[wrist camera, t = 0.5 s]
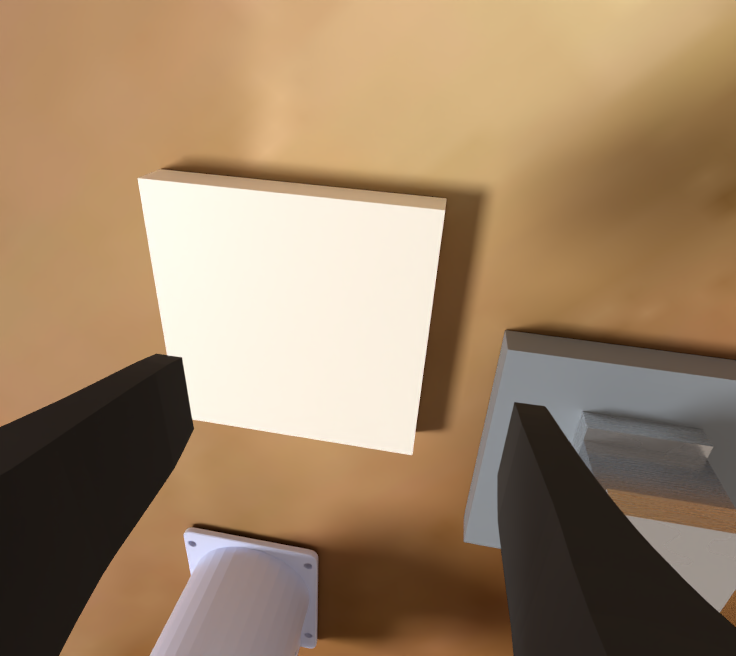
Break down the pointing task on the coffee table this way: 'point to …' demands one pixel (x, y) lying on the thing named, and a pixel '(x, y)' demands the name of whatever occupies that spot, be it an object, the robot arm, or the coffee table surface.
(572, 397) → the stand
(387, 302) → the stand
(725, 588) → the block
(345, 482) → the coffee table surface
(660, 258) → the coffee table surface
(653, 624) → the robot arm
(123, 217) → the coffee table surface
